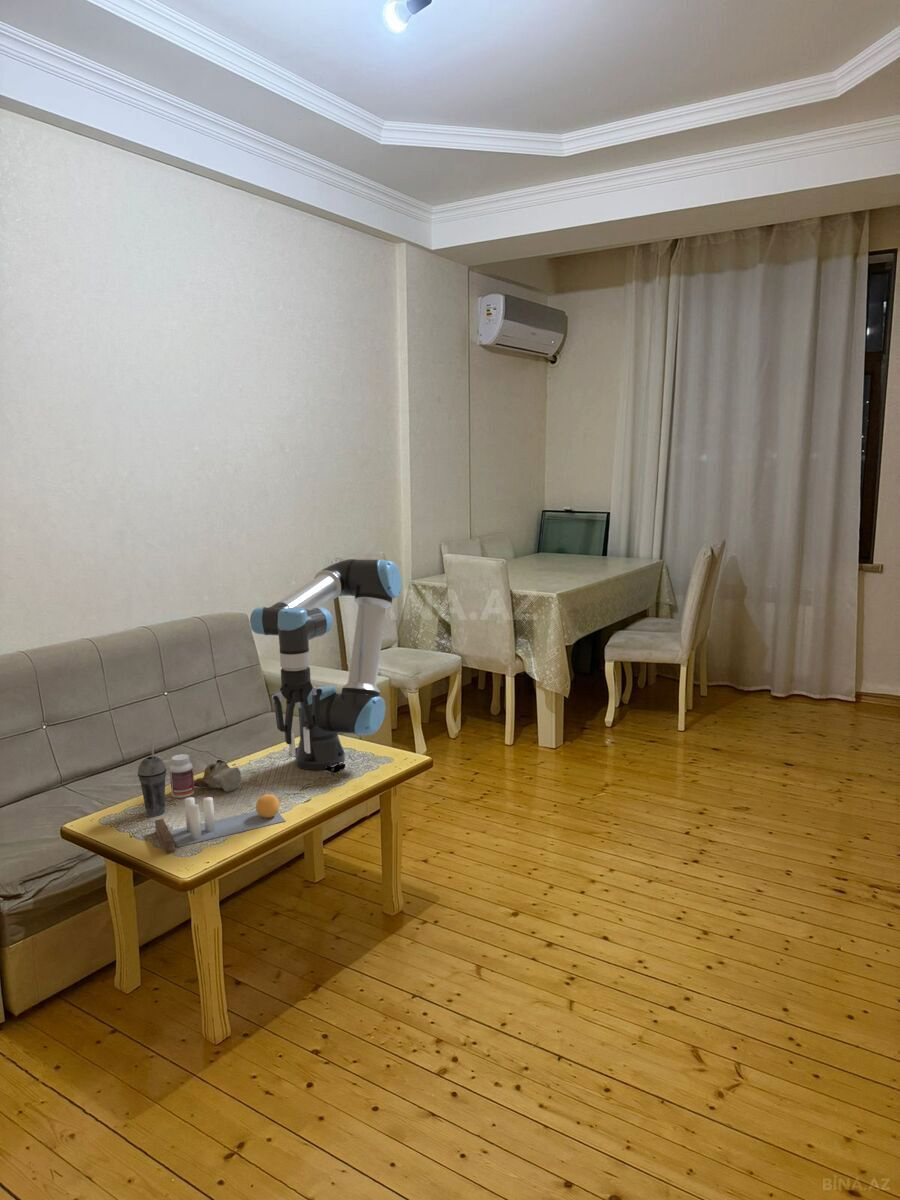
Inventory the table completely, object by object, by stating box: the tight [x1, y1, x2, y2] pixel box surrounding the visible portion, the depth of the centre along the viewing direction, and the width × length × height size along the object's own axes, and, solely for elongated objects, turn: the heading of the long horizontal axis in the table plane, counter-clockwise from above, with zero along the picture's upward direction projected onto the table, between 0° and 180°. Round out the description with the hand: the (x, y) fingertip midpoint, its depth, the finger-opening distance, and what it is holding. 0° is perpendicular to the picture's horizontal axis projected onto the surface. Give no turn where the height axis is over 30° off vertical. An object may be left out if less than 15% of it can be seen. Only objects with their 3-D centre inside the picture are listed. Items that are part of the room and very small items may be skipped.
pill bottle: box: [169, 753, 195, 799], centre depth 225 cm, size 6×6×11 cm
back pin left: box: [189, 803, 201, 840], centre depth 197 cm, size 2×2×8 cm
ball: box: [255, 793, 280, 818], centre depth 209 cm, size 6×6×6 cm
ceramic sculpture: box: [194, 759, 242, 793], centre depth 229 cm, size 11×9×15 cm
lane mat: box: [169, 810, 286, 848], centre depth 204 cm, size 27×10×1 cm, turn 120°
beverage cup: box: [137, 739, 167, 817], centre depth 212 cm, size 7×7×20 cm
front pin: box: [202, 796, 215, 832], centre depth 201 cm, size 2×2×8 cm
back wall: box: [154, 818, 176, 855], centre depth 196 cm, size 2×14×3 cm, turn 30°
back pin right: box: [184, 796, 196, 832], centre depth 201 cm, size 2×2×8 cm
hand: (300, 753), depth 211 cm, fingers open, 3 cm apart
